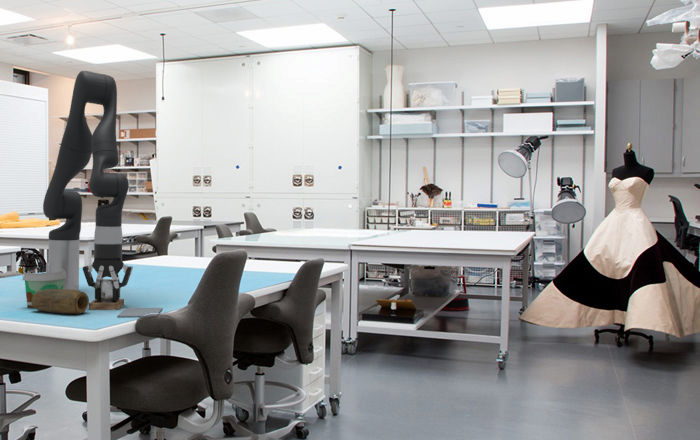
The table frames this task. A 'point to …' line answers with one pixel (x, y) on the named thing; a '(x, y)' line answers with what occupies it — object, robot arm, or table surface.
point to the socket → (106, 305)
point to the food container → (42, 283)
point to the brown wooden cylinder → (60, 301)
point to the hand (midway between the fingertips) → (107, 300)
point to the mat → (138, 312)
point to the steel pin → (107, 291)
